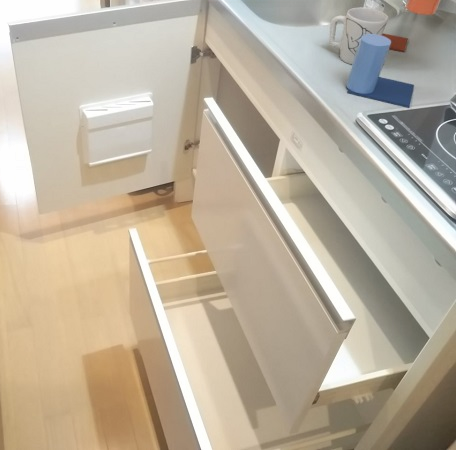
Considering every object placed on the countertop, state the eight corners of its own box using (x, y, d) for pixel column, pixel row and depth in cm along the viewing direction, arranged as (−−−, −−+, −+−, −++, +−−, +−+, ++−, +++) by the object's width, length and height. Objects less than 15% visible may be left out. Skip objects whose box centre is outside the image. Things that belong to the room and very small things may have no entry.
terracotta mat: (407, 39, 126) (408, 38, 126) (404, 52, 120) (404, 50, 120) (365, 31, 129) (366, 29, 129) (360, 43, 123) (361, 41, 123)
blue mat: (413, 86, 108) (414, 84, 108) (409, 107, 101) (409, 106, 101) (355, 73, 111) (355, 71, 111) (347, 93, 105) (347, 91, 104)
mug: (316, 56, 117) (327, 11, 110) (331, 44, 122) (343, 0, 115) (365, 71, 112) (380, 25, 105) (378, 58, 117) (394, 14, 110)
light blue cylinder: (376, 84, 107) (392, 37, 100) (372, 96, 103) (389, 48, 96) (348, 78, 109) (363, 31, 102) (343, 89, 105) (358, 41, 98)
